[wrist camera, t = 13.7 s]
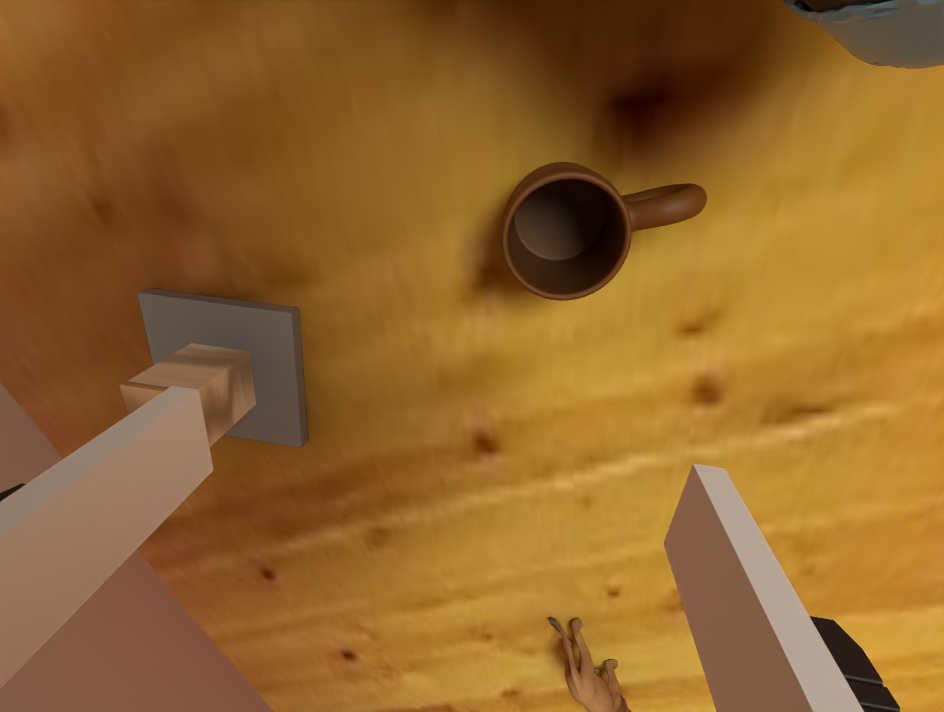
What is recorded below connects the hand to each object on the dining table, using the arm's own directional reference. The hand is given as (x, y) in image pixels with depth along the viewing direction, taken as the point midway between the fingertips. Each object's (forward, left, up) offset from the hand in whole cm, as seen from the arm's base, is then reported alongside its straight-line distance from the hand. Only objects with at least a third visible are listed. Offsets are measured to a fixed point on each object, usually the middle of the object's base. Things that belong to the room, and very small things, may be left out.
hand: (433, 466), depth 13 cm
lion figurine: (+45, +17, -27) cm, 55 cm away
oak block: (+14, -24, -25) cm, 38 cm away
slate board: (+14, -24, -27) cm, 39 cm away
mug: (-4, +6, -27) cm, 28 cm away
